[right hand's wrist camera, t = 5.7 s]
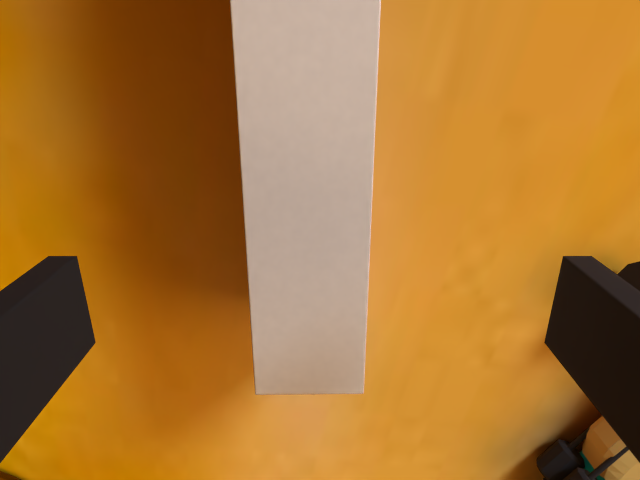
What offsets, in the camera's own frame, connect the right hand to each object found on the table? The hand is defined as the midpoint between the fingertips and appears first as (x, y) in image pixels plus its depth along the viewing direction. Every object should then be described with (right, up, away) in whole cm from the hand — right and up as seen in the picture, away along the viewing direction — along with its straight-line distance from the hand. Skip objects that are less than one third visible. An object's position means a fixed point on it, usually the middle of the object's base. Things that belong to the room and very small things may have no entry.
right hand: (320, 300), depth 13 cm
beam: (-1, +26, +4) cm, 26 cm away
